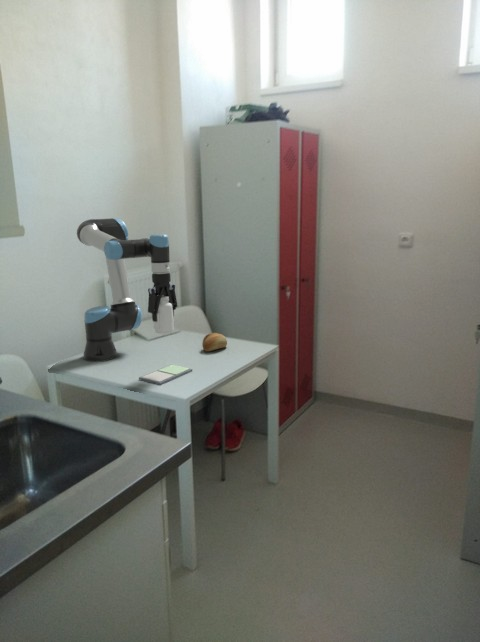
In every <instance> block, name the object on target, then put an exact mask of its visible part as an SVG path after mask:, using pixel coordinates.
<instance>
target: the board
mask: <svg viewBox="0 0 480 642" xmlns="http://www.w3.org/2000/svg"><path fill="white" fill-rule="evenodd" d="M192 372H193V368H190V367H184V366H180V365H175V364H170V365H167V366H164V367H162V368H160V369H157V370H153V371H152V372H149V373H146V374H144V375H142V376H139V377H138V380H140V381H144V382H147V383H152V384H156V385H160V386H162V385H164V384H166V383H168V382H170V381H173V380H175V379H178V378H180V377H182V376H184V375H186V374H188V373H189V374H190V373H192Z"/></svg>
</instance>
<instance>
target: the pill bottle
mask: <svg viewBox="0 0 480 642" xmlns="http://www.w3.org/2000/svg"><path fill="white" fill-rule="evenodd" d="M168 301H169V297H168V296H162V298H161V299H160V304H159V308H158V312H157V313H159V322H160V329H154V331H155V333H156V334H161V335H162V334H163V335H165V334H171V333H173V332H174V330H175V327H174V326H175V324H174V325H173V308H172V304H171V303H169V302H168ZM154 311H155V310H154Z"/></svg>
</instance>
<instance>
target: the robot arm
mask: <svg viewBox="0 0 480 642" xmlns="http://www.w3.org/2000/svg"><path fill="white" fill-rule="evenodd" d="M76 237H77V239H78V240H79V242H80V243H82V244H83V245H85V246H88V247H94V248H96V249H98V250H100V251H102V252H104V255H105V261H106V267H107V273H108V278H109V279H108V280H109V285H110V291H111V292H110V293H111V296H112V297H111V298H112V302H111V303H110V306H108V305H100V306H94V307H91V308H89V309H87V310H86V311H85V312H84V321H83V322H84V327H85V328H84V329H85V339H86V341H85V342H86V343H85V347H84V351H83V359H84V360H86V361H88V362H104V361H108V360H112V359H114V358H116V357H117V356H118V354H117V353H118V351H117V349H116V347H115V344H114V342H113V341H114V340H113V336H112V335H113V334H114V333H115V334H116V333H121V332H127V331H132V330H136V329H138V328H139V327H140V326H141V323H142V320H143V314H142V309H141V307H140V305H138V304H136V301H135V300H134V299H133V298H132V296H131V290H130V283H129V279H128V271H127V266H126V260H127V259H137V258H139V259H140V258H150V265H151V280H152V283H153V287H151V288H148V290H147V291H148V302H147V305H148V306H147V313H148V314H151V318H152V322H153V329H154V330H155V329H160V322H159V313H157V312H158V308H159V304H160V299H161V298H162V296H168V297H169V301H168V302H169V303H171V304H172V308H173V325H174V326H175V321H174V318H175V310H176V309H177V308H178V302H177V295H176V285H175V284H171V283H170V282H171V280H172V279H171V277H172V276H171V273H170V271H171V263H170V241H169V236H168V234H165V233H164V234H160V233H159V234H150V236H149V238H148V237H147V238H139V239H137V238H136V239H129V230H128V227H127V225H126V223H125V221H124V220H122V219H120V218H95V219H94V218H91V219H87V220H84V221H83V222H81V223H80V224H79V225H78V227H77V230H76ZM125 259H126V260H125ZM154 310H155V311H154Z"/></svg>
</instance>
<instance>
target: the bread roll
mask: <svg viewBox="0 0 480 642" xmlns="http://www.w3.org/2000/svg"><path fill="white" fill-rule="evenodd" d="M227 345H228V340H227V338H226V337H225V335H223V334H221V333H218V332H211V333H208V334H205V336H204V337H203V339H202V345H201V346H202V349H203V351H204V352H211V351H216V350H219V349H223V348H224V349H225V348H226V347H227Z"/></svg>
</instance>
